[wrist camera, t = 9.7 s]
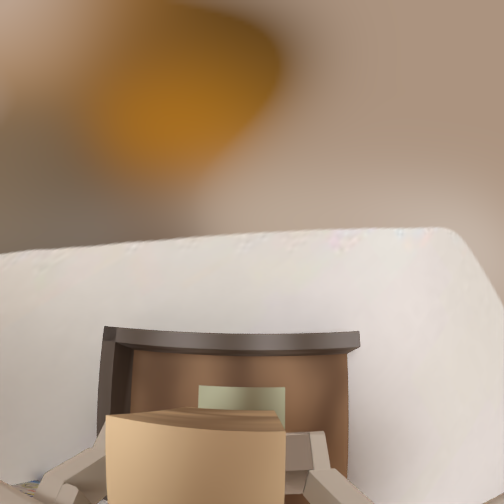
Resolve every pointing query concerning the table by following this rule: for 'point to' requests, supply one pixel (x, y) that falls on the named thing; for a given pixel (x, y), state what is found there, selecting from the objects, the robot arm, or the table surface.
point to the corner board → (233, 378)
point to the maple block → (195, 457)
